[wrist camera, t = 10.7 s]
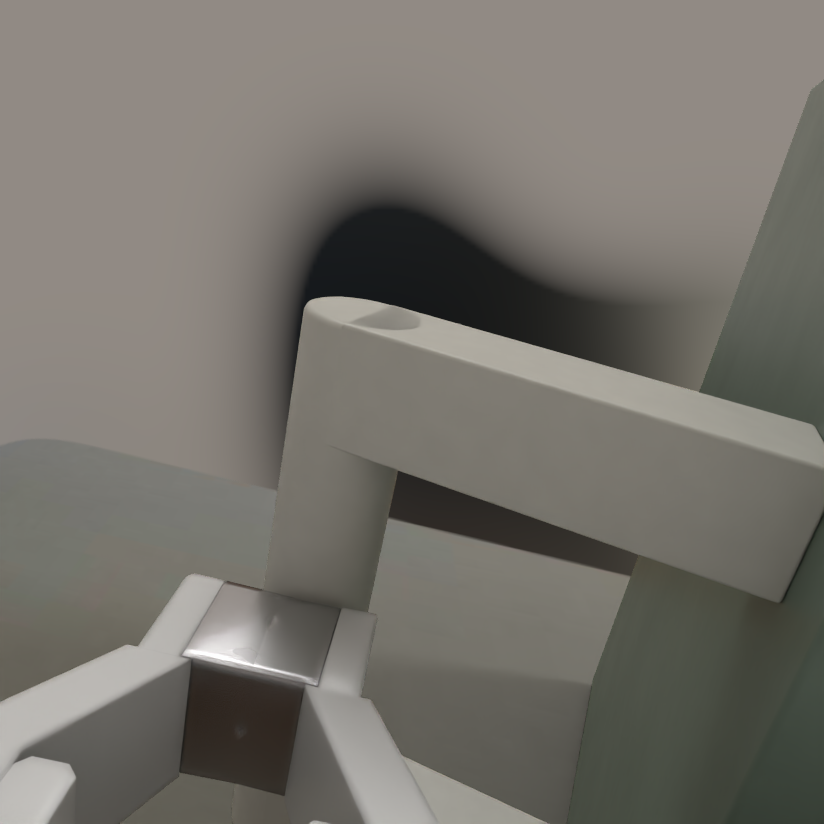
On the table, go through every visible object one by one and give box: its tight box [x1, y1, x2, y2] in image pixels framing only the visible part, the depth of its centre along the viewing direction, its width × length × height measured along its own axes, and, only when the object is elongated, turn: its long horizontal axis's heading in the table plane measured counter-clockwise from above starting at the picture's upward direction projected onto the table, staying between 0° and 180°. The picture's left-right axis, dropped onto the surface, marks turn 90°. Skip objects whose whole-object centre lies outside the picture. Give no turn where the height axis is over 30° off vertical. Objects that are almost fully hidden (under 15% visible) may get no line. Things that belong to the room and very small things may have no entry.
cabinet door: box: [231, 80, 824, 824], centre depth 15 cm, size 7×16×20 cm, turn 160°
